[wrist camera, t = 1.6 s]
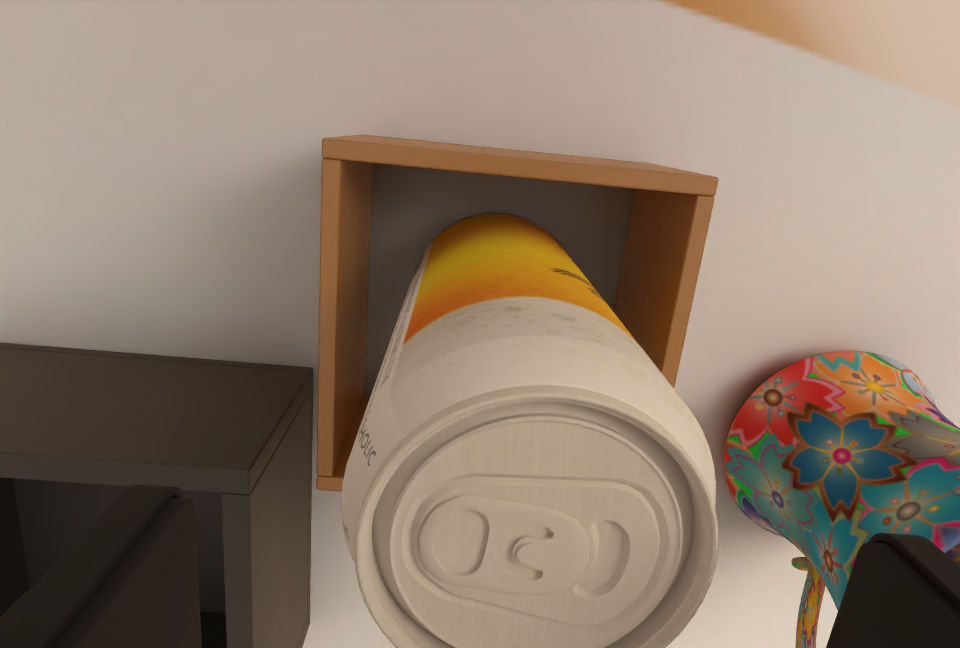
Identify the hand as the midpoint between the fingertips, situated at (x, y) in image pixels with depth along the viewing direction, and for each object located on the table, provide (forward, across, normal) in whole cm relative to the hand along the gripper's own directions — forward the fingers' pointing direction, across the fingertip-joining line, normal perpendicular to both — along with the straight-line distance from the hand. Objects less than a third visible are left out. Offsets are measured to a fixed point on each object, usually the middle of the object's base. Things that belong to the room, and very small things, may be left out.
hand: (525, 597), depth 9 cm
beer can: (+16, 0, 0) cm, 16 cm away
